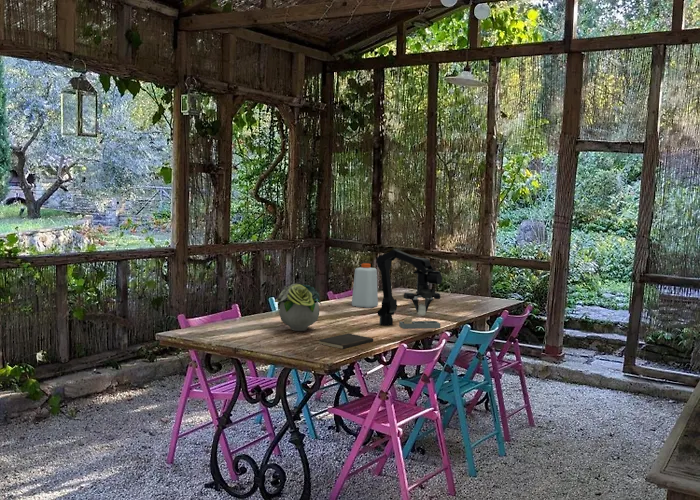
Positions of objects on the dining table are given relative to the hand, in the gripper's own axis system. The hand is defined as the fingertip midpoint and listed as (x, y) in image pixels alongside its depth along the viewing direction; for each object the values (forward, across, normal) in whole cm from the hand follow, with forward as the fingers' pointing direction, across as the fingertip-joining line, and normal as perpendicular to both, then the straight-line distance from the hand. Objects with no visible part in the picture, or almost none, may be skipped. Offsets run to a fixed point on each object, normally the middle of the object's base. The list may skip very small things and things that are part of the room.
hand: (421, 312), depth 340 cm
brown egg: (+10, -4, +10) cm, 15 cm away
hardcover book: (+12, -46, -19) cm, 51 cm away
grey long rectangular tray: (+11, +3, +10) cm, 15 cm away
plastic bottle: (+11, -6, +87) cm, 88 cm away
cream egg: (+1, 0, 0) cm, 1 cm away
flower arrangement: (+11, -63, +14) cm, 65 cm away
